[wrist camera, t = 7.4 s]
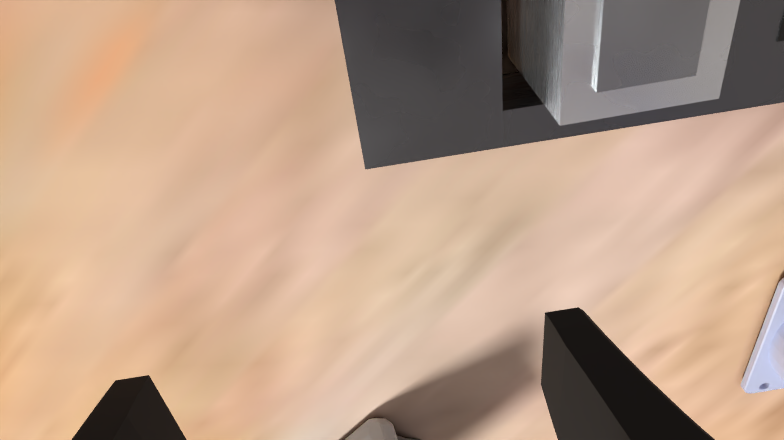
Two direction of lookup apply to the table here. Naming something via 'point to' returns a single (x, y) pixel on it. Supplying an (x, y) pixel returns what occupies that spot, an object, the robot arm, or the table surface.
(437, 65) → the dark grey flat block
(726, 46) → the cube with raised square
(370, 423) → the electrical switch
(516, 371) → the table surface
